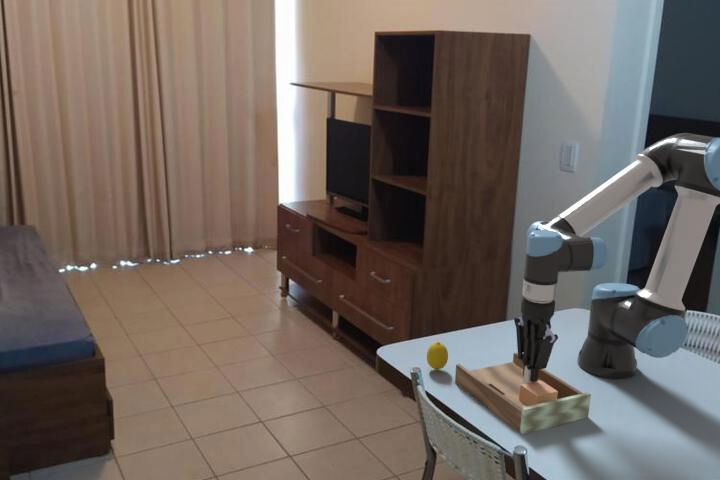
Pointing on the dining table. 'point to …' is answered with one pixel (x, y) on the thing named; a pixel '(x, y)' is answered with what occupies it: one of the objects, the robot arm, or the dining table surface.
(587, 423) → the dining table surface
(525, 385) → the block
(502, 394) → the box
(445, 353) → the lemon
